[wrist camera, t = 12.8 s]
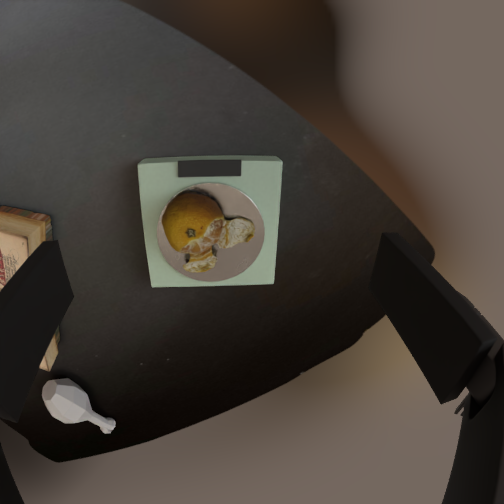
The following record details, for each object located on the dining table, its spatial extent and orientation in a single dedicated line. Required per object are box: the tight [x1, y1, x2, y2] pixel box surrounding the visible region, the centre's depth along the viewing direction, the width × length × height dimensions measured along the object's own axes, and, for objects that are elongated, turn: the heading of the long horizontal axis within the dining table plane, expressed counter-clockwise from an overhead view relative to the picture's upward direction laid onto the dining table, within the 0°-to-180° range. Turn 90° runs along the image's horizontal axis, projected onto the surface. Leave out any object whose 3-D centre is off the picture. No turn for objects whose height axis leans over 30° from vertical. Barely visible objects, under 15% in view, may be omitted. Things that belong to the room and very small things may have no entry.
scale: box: [138, 155, 283, 287], centre depth 32 cm, size 14×14×3 cm
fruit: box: [161, 192, 255, 272], centre depth 28 cm, size 8×8×4 cm
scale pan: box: [157, 181, 265, 282], centre depth 31 cm, size 11×11×1 cm
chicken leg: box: [42, 378, 115, 433], centre depth 44 cm, size 8×18×8 cm, turn 19°
